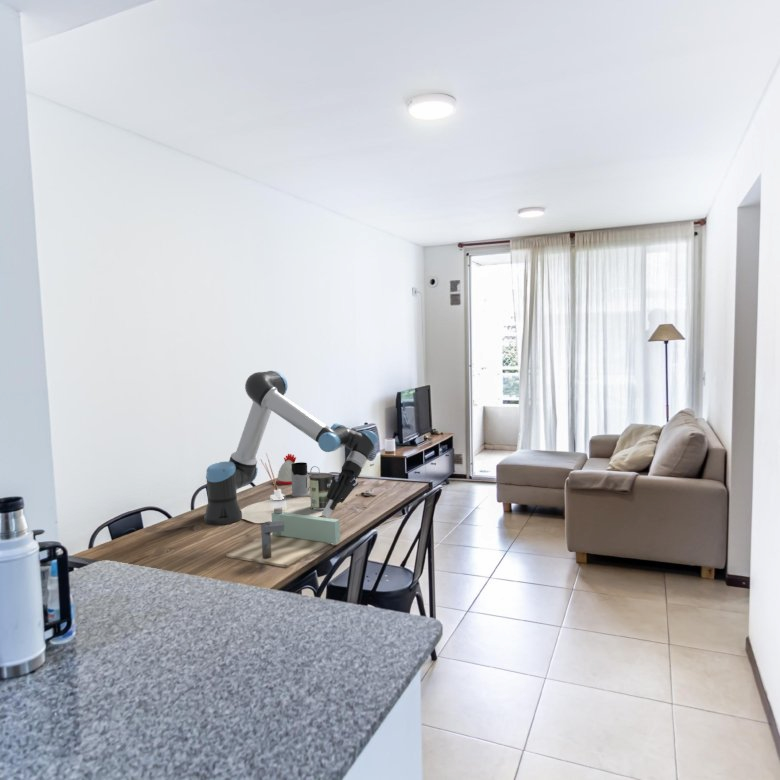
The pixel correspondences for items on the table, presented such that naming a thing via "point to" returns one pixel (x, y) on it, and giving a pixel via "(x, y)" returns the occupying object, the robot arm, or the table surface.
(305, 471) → the grey and black mug
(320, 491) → the coffee can
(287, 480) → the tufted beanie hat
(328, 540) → the link
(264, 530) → the keeper
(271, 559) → the pintle board
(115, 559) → the table surface
